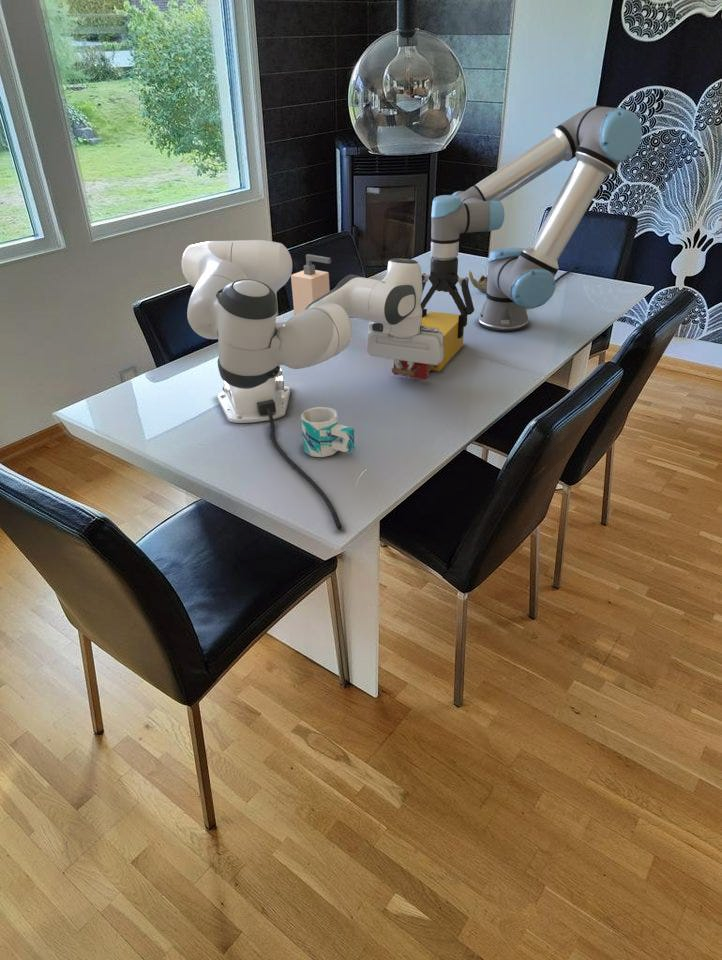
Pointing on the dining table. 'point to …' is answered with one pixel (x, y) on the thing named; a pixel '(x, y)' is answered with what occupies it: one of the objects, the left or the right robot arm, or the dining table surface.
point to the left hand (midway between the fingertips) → (404, 374)
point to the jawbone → (479, 282)
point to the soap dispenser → (309, 283)
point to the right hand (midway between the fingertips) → (441, 334)
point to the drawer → (414, 370)
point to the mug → (325, 433)
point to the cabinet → (445, 333)
